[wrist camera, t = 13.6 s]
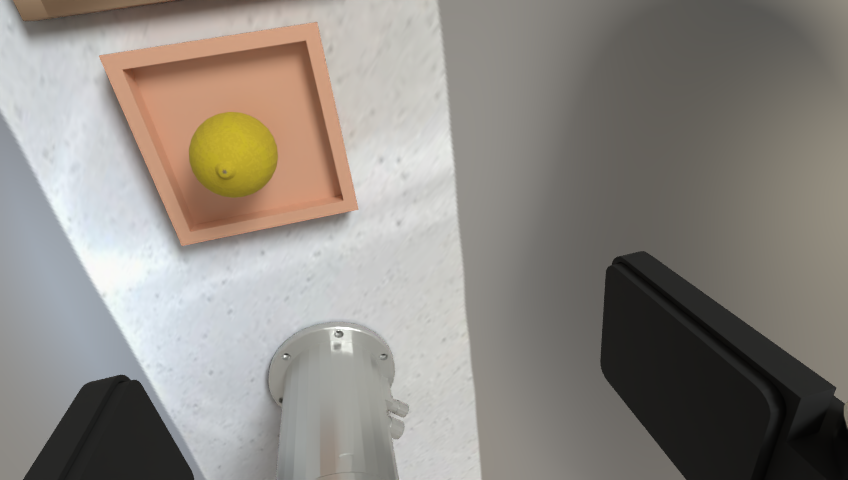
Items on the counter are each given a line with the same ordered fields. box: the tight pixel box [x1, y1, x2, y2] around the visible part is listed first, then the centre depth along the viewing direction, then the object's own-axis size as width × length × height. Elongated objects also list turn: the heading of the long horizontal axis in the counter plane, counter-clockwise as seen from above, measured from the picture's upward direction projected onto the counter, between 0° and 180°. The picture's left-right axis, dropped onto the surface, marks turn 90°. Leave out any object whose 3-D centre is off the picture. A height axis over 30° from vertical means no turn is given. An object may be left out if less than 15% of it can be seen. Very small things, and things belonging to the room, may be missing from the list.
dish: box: [99, 22, 358, 246], centre depth 34 cm, size 14×14×2 cm
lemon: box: [189, 112, 278, 198], centre depth 31 cm, size 6×6×8 cm
